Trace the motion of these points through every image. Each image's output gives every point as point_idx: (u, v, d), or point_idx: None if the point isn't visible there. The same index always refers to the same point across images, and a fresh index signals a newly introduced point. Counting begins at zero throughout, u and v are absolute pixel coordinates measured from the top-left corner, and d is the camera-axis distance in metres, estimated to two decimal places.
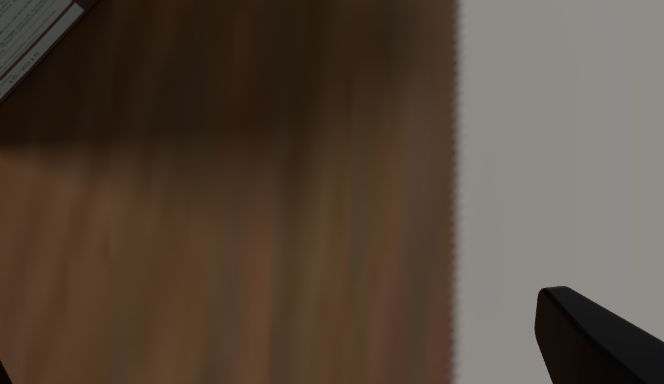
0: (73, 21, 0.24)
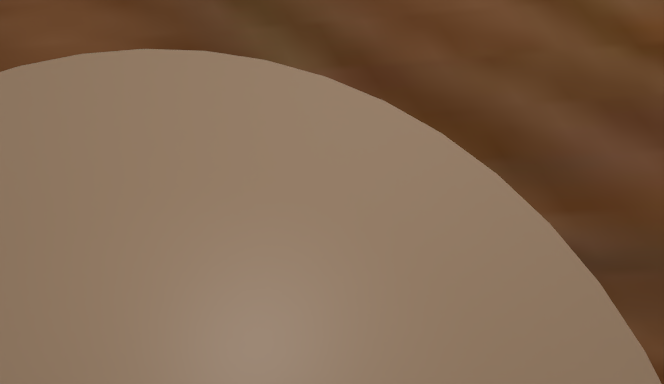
0: None
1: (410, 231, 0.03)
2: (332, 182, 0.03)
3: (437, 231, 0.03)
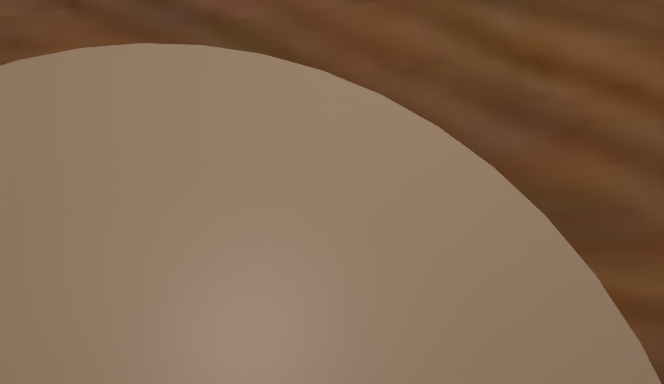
0: None
1: (406, 224, 0.03)
2: (328, 176, 0.03)
3: (433, 224, 0.03)
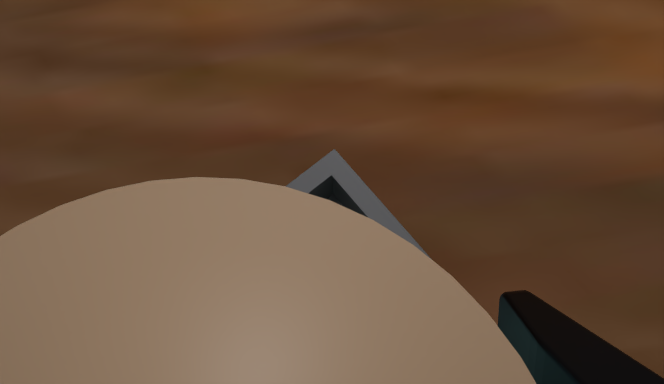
0: None
1: (389, 318, 0.04)
2: (334, 282, 0.04)
3: (408, 318, 0.04)
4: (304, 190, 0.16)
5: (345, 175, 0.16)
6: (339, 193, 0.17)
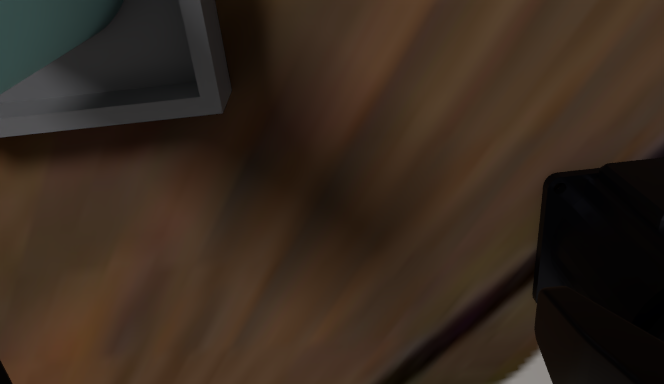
0: None
1: None
2: None
3: None
4: None
5: None
6: None
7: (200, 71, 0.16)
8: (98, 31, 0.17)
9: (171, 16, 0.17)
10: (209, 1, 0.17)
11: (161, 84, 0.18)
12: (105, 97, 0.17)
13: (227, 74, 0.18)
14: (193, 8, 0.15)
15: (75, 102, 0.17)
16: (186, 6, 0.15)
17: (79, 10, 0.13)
